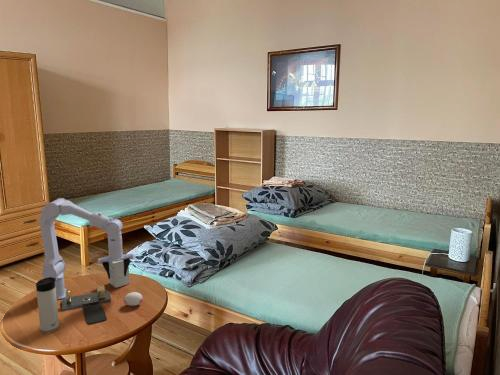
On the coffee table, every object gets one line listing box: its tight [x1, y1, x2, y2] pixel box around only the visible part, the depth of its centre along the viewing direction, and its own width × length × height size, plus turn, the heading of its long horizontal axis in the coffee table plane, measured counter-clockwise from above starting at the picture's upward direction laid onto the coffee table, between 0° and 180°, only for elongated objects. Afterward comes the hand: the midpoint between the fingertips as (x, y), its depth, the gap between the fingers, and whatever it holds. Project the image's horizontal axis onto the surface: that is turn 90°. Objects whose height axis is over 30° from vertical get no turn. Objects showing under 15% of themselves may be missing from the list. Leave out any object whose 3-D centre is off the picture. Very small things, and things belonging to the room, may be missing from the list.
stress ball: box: [123, 291, 144, 309], centre depth 162 cm, size 8×8×7 cm
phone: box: [82, 303, 108, 326], centre depth 155 cm, size 7×1×15 cm
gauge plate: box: [61, 289, 112, 311], centre depth 164 cm, size 9×19×6 cm, turn 115°
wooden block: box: [96, 285, 106, 299], centre depth 166 cm, size 5×3×3 cm, turn 25°
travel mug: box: [35, 277, 60, 334], centre depth 142 cm, size 6×7×20 cm
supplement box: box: [108, 260, 131, 289], centre depth 181 cm, size 7×7×13 cm
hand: (117, 276), depth 168 cm, fingers open, 6 cm apart
